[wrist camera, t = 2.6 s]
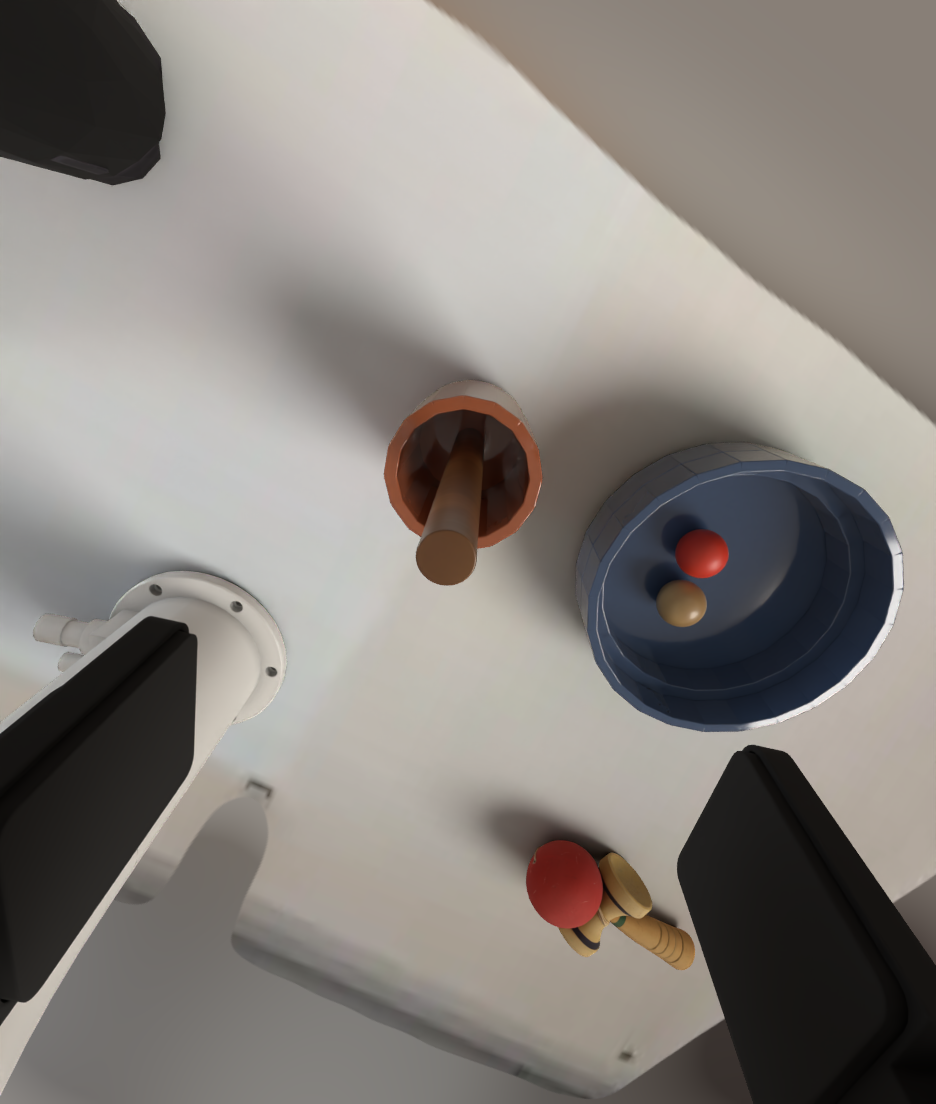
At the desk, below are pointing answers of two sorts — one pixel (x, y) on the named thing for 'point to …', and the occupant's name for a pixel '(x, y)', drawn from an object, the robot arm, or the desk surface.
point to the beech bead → (681, 603)
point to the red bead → (701, 553)
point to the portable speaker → (79, 89)
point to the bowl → (739, 587)
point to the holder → (429, 444)
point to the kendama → (599, 902)
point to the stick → (454, 514)
